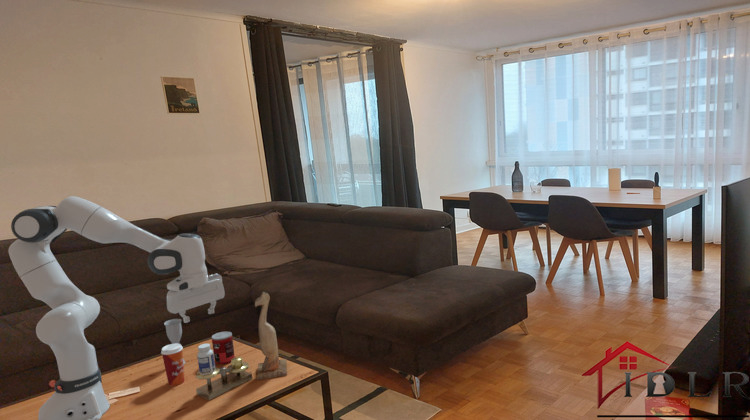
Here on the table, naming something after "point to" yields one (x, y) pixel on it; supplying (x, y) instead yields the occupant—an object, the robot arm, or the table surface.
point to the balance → (224, 379)
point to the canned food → (223, 347)
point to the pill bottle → (205, 359)
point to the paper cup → (173, 363)
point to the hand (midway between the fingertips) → (199, 317)
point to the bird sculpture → (268, 344)
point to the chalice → (174, 331)
